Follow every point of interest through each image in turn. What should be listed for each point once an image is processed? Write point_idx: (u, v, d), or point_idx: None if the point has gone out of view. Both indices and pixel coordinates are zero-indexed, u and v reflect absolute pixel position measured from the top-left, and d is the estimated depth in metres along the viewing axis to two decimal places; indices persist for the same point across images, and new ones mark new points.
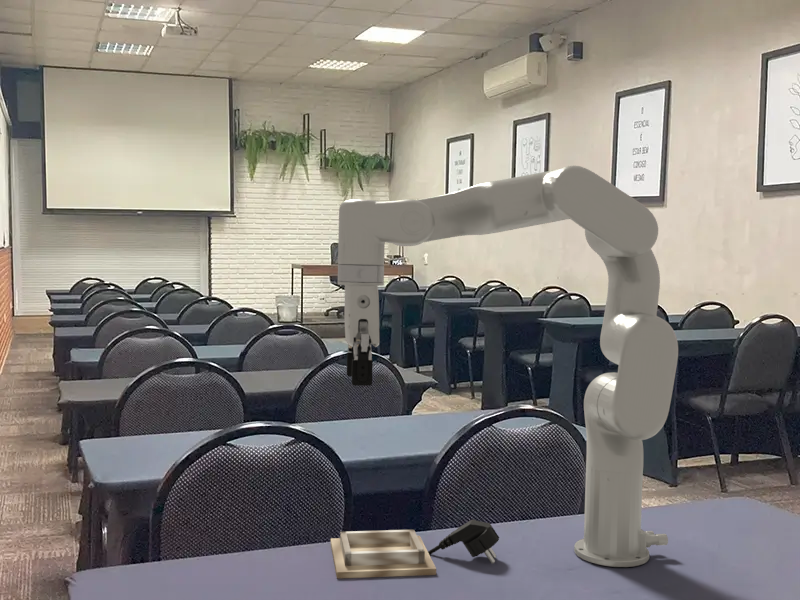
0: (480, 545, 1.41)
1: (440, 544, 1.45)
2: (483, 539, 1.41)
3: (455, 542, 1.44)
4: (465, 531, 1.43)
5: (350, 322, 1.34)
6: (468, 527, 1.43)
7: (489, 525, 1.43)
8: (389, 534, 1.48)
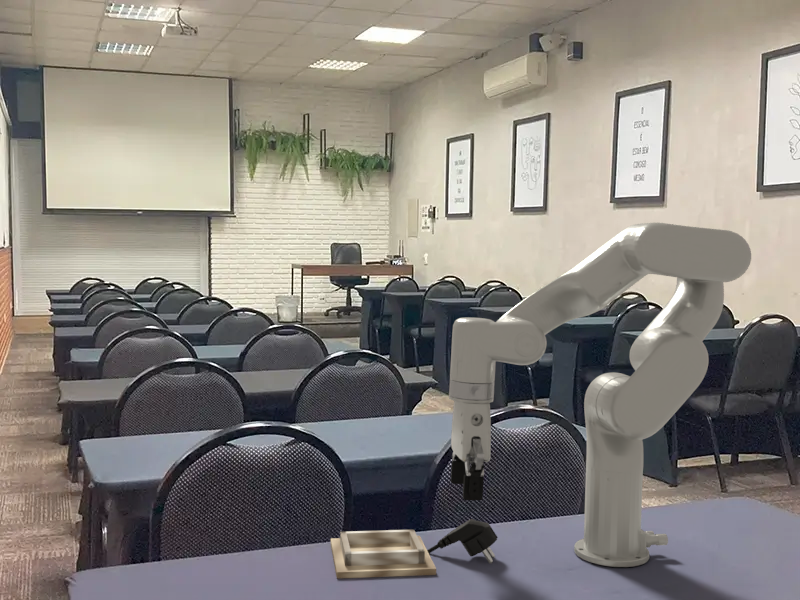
0: (478, 545, 1.41)
1: (439, 543, 1.45)
2: (481, 538, 1.41)
3: (453, 541, 1.44)
4: (463, 530, 1.43)
5: (463, 439, 1.38)
6: (466, 527, 1.43)
7: (487, 525, 1.43)
8: (389, 534, 1.48)
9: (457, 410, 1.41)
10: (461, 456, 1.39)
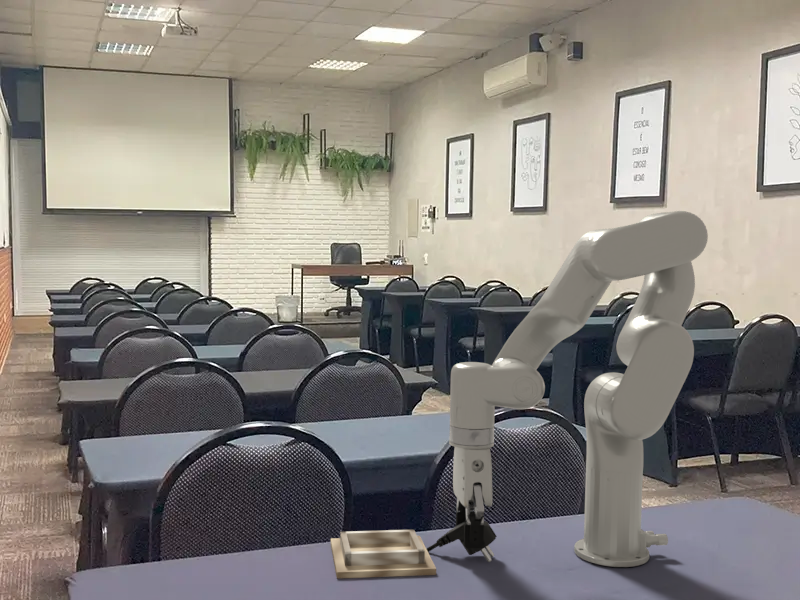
0: None
1: (438, 542, 1.45)
2: None
3: (452, 540, 1.44)
4: (462, 529, 1.44)
5: (465, 485, 1.39)
6: None
7: (486, 524, 1.44)
8: (389, 534, 1.48)
9: (458, 455, 1.42)
10: (463, 502, 1.40)
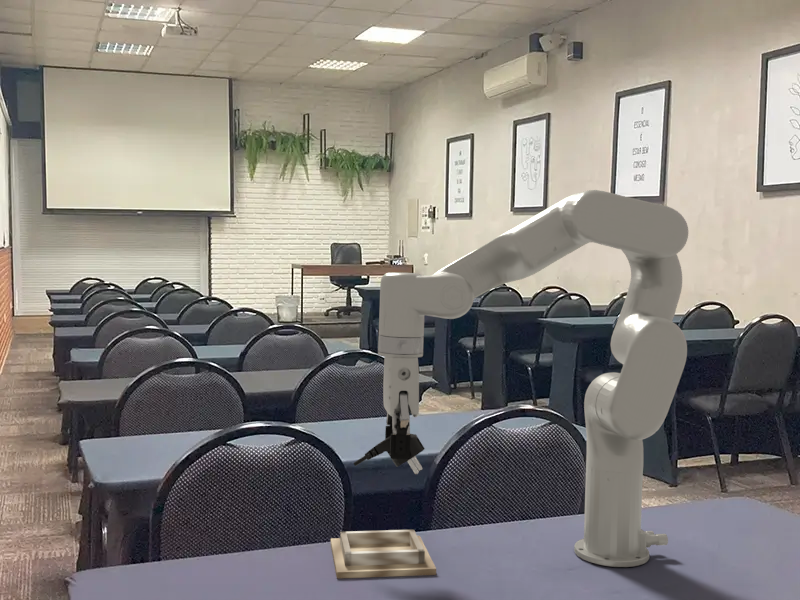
0: None
1: (366, 454, 1.44)
2: None
3: (380, 452, 1.42)
4: None
5: (391, 393, 1.37)
6: None
7: (414, 436, 1.42)
8: (389, 534, 1.48)
9: (386, 365, 1.40)
10: (389, 411, 1.38)
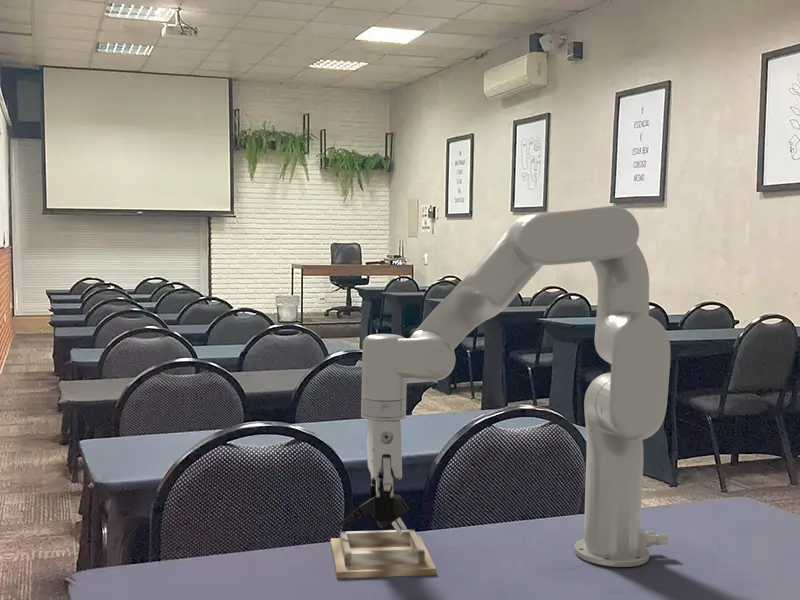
0: None
1: (350, 515, 1.44)
2: None
3: (364, 513, 1.43)
4: None
5: (374, 457, 1.37)
6: None
7: (398, 497, 1.42)
8: (389, 534, 1.48)
9: (369, 428, 1.40)
10: (372, 474, 1.38)
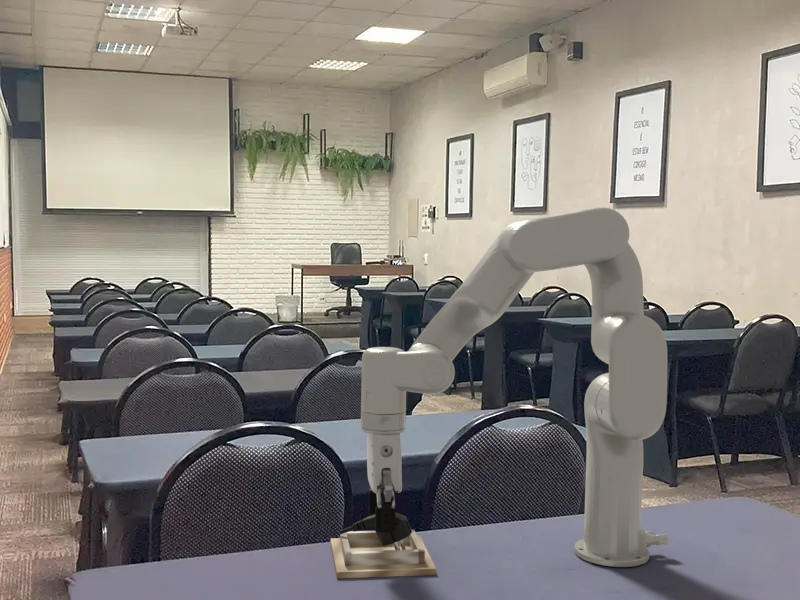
0: (390, 536, 1.40)
1: (353, 526, 1.44)
2: None
3: (367, 527, 1.43)
4: None
5: (373, 471, 1.37)
6: None
7: (404, 518, 1.42)
8: None
9: (368, 441, 1.41)
10: (372, 488, 1.38)
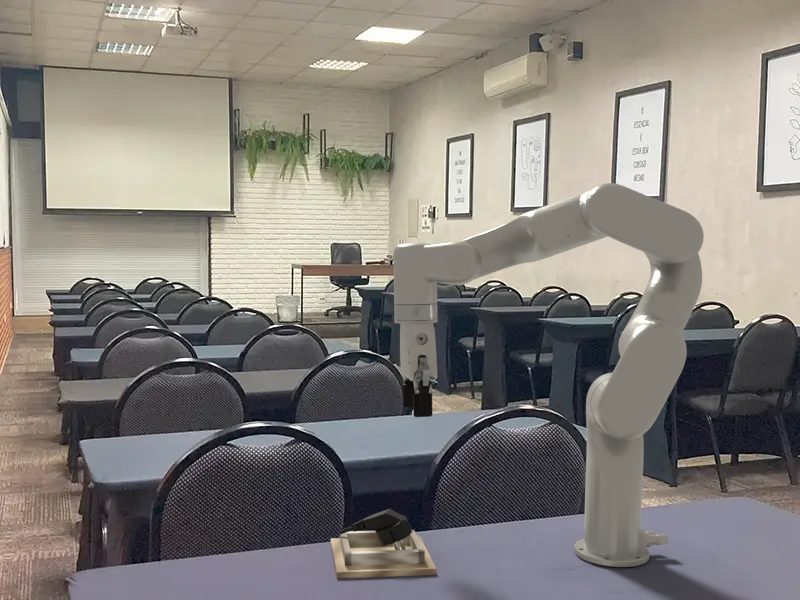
0: (389, 536, 1.40)
1: (353, 526, 1.44)
2: (394, 530, 1.40)
3: (367, 527, 1.43)
4: (379, 519, 1.42)
5: (410, 358, 1.43)
6: (382, 516, 1.42)
7: (404, 518, 1.42)
8: None
9: (403, 333, 1.47)
10: (409, 375, 1.44)
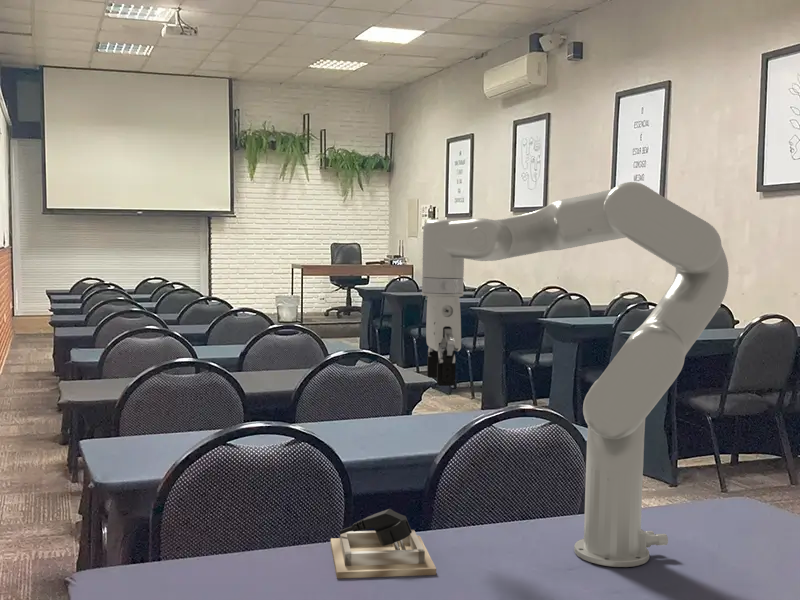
0: (389, 536, 1.40)
1: (353, 526, 1.44)
2: (394, 530, 1.40)
3: (367, 527, 1.43)
4: (379, 519, 1.42)
5: (435, 329, 1.50)
6: (382, 516, 1.42)
7: (404, 518, 1.42)
8: None
9: (429, 305, 1.53)
10: (434, 346, 1.51)
